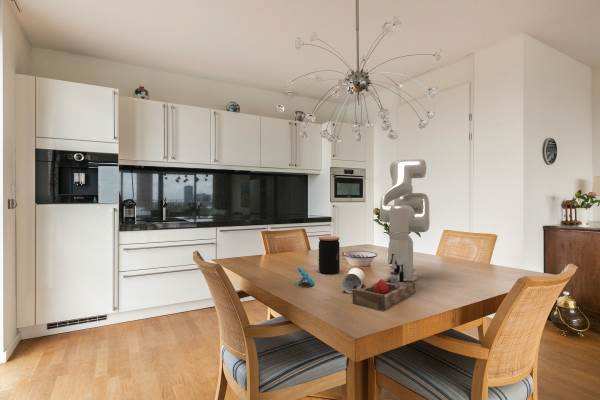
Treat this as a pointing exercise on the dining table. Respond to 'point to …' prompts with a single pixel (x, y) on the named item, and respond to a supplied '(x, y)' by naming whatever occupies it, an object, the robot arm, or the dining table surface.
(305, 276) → the gear
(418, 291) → the dining table surface
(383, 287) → the pomegranate
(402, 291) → the guide
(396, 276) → the grey angular piece
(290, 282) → the dining table surface
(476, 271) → the dining table surface
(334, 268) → the coffee jar
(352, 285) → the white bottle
